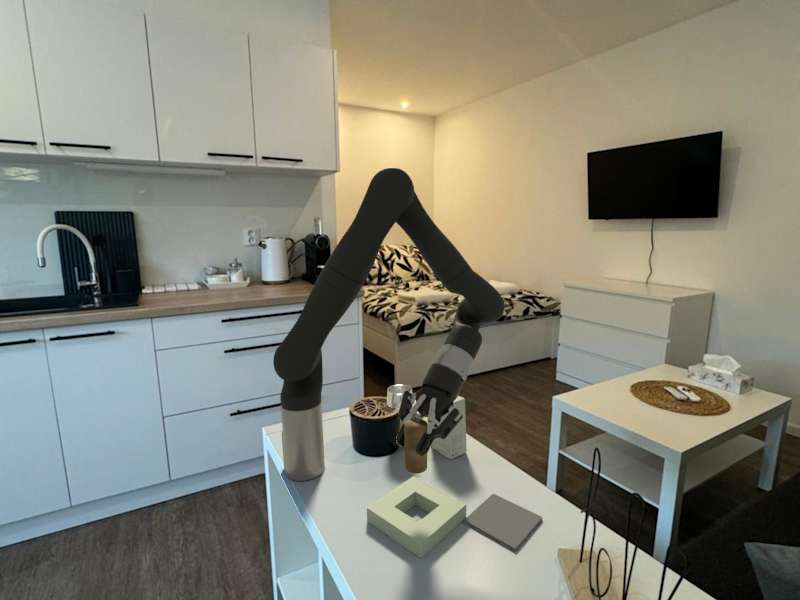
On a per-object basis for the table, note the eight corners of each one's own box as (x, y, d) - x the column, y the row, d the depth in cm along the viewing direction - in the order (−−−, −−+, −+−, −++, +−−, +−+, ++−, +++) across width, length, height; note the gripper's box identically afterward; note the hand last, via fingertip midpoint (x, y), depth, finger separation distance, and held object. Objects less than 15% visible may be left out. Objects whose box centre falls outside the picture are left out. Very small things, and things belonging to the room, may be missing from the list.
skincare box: (466, 453, 107) (467, 398, 104) (448, 461, 104) (449, 404, 101) (445, 439, 114) (446, 388, 111) (428, 446, 111) (428, 393, 108)
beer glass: (383, 445, 111) (382, 392, 109) (393, 433, 118) (392, 382, 115) (408, 450, 109) (407, 395, 106) (416, 437, 115) (416, 385, 113)
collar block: (367, 521, 83) (366, 507, 83) (413, 488, 93) (413, 476, 93) (421, 558, 74) (421, 543, 73) (466, 517, 84) (466, 504, 83)
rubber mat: (464, 522, 83) (464, 519, 82) (493, 495, 90) (493, 493, 90) (515, 551, 75) (515, 548, 75) (542, 519, 83) (542, 516, 83)
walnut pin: (399, 467, 82) (399, 424, 80) (414, 458, 85) (414, 416, 83) (417, 476, 79) (417, 432, 77) (431, 466, 82) (432, 423, 80)
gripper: (413, 355, 88) (372, 429, 82) (471, 371, 79) (430, 456, 72) (429, 372, 93) (391, 443, 87) (485, 389, 83) (447, 471, 77)
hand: (409, 448), depth 79 cm, fingers closed on walnut pin, 4 cm apart
